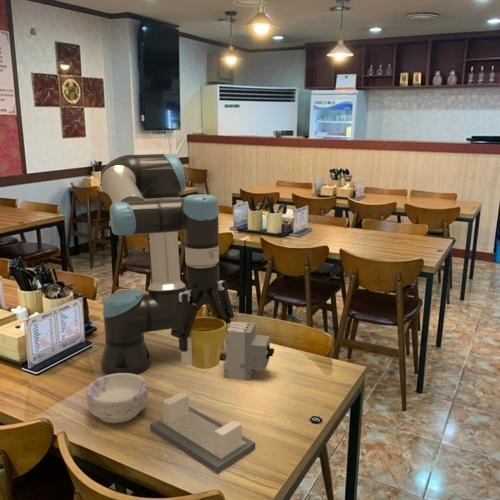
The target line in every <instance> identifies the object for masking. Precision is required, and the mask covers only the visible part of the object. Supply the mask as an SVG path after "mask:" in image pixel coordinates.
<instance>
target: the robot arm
mask: <svg viewBox="0 0 500 500" xmlns="http://www.w3.org/2000/svg"><path fill="white" fill-rule="evenodd" d="M99 178H100V179H99V181H100V185H101V188H102V190H103V192H104V193H105V194H106V195H108V197H109V198H110V200H111V203H112V204H111V205H110V207H109V219H110V222H109V223H110V227H111V233H112V234H113V235H116V236H135V235H147V234H149V249H150V264H151V265H150V266H151V277H152V278H151V279H152V282H151V284H150V285H148V287H147V293H145V294H143V293H142V291H141V290H139V289H125V290H124V289H123V290H119V291H116V292H114V293H111V294H110V295H108V296H107V297H105V299H104V300H103V305H102V306H103V307H102V308H103V309H102V310H103V312H102V316H103V323H104V341H105V345H104V349H103V353H102V356H101V359H100V360H101V361H100V367H101V371H102V372H103V373H104V374H106V375H110V374H116V373H130V374H135V375H138V374H141V373H144V371H146V370H148V369H149V368H150V367H151V365H152V358H151V357H152V356H151V353H150V351H149V348H148V347H147V344H146V341H145V333H150V332H151V333H152V332H158V331H159V332H160V331H165V330H171V331H170V336H172V337H174V338H177V339H178V349H179V351H180V352H181V353H180V354H181V363H183V364H185V365H187V366H192V343H191V337H189V333H190V331H191V328H192V325H193V323H194V320H195V318H196V317H197V315H198V312H199V311H200V310H201V309H202V306H205V305H207V304H209V306H210V307H211V309H212V311H213V312H214V315H215V318H219V319H222V320H224V321H225V322H226V325H228V324H230V322H232V319H233V318H234V317H235V314H234V310H233V306H232V303H231V299H230V298H231V297H230V295H229V292H228V290H229V289H228V288H229V287H228V285H229V283H228V282H227V281H225V280H221V279H220V265H219V264H218V263H219V262H220V253H219V252H220V251H219V250H220V247H219V246H220V245H219V243H220V242H219V241H220V240H219V238H220V236H219V235H220V233H219V232H220V231H219V230H220V229H219V226H220V225H219V214H220V210H219V202H218V197H216V195H213V194H205V193H204V194H201V193H200V194H197V193H195V194H189V195H187V196H185V197H181V193H183V192H184V191H185V190H186V177H185V170H184V167H183V164H182V162H181V160H180V158H179V157H178V156H177V155H175V154H169V153H167V154H166V153H156V154H155V153H154V154H150V153H149V154H125V155H120V156H118V157H116V158H114V159H113V160H110V161H109V162H108V163H107V164H106V165H105V166H104V167H103V169H102V171H101V173H100V177H99ZM179 232H184V251H185V253H184V254H185V255H184V257H185V264H186V266H185V281H186V282H187V285H188V286H187V287H186V284H185V283H184V282H183V281H182V280H181V271H180V253H179V239H178V237H179V236H178V233H179ZM186 288H187V289H186ZM226 335H227V334H226ZM222 350H226V339H225V340H223V345H222Z"/></svg>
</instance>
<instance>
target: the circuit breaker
mask: <svg viewBox="0 0 500 500" xmlns="http://www.w3.org/2000/svg"><path fill="white" fill-rule="evenodd" d="M270 344H271V338H270V335H261V334H256V322H245V321H231V322H230V324H228V323H227V335H226V360H225V361H223V365H222V366H223V367H222V368H223V378H224V379H225V378H227V379H231V380H232V379H234V380H243V381H251V380H252V378H253V375H254V373H255V371H256V370H263V371H265V370H267V368H268V367H267V366H268V364H269V362H270V360H271V359H270V357H273V355H274V354H275V353H274V352H275V348H274V347H273V348H271V345H270Z"/></svg>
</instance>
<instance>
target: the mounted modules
mask: <svg viewBox="0 0 500 500" xmlns="http://www.w3.org/2000/svg"><path fill="white" fill-rule="evenodd" d="M162 413H163V414H162V415H163V417H162V418H164V420H165V421H167V422H168V423H172V422H174V421H175V420H177V419H179V418H181V417H183V416H185V415H187V414H189V395H187V394H186V393H184V392H179V393H177V394H175V395H173V396H171V397H168V398H167V399H164V400H162ZM223 425H224V426H222V427H221V428H219V429H217V430H216V431H215V451H216V452H218V453H219V454H221V455H225V454H226V453H228V452H229V451H231V450H233V449H234V448H236V447H237V446H239V445H240V444H242V436H243V433H242V432H243V431H242V429H243V426H242V425H243V424H242V423H241V422H238V421H236V420H235V419H234V420H231V421H230V422H228V423H226V424H223Z"/></svg>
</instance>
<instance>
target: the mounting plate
mask: <svg viewBox="0 0 500 500" xmlns="http://www.w3.org/2000/svg"><path fill="white" fill-rule="evenodd" d="M189 411H191V412H193V413H194V414H196V415H198V416H200V417H202V418H203V419H205V420H207V421H209V422H210V423H212V424H214V425H216V426H218V427H219V428H221V427H222V426H224V425H225V424H222V423H220V422H218V421H216V420H214V419H213V418H211V417H209V416H208V415H207V414H206V415H205V414H204V413H202V412H201V411H199V410H197V409H195V408H194V407H192V406H189ZM161 419H163V417H162V418H159V419H158V420H156V421H153V422H152V423H150V424H149V430H150V431H151V432H153V433H155V434H156V435H158V436H159V437H161V438H162V439H164V440H165V441H167V442H169V443H170V444H172V445H173V446H175V447H176V448H178V449H179V450H180V451H182V452H184V453H186V454H187V455H189V456H190V457H192V458H193V459H195V460H196V461H197V462H199V463H201V464H202V465H204V466H206V467H207V468H208V469H210V470H211V471H213V472H215V473H216V474H220V473H221V472H222V471H223V470H225V469H227V468H229V467H230V466H231V465H233V464H234V463H236V462H238V461H239V460H240V459H242V458H244V457H245V456H247V455H248V454H249V453H251V452H253V451H255V450H256V442H254V441H253V440H251V439H249V438H247V437H246V436H243V435H242V441H244V442H246V445H245V446H244V447H242V448H241V449H239V450H238V451H236V452H235V453H233V454H232V455H230V456H228V457H227V458H225V459H224V460H222V461H220V460H219V459H217V458H215V457H214V456H212V455H210V454H209V453H207V452H206V451H204V450H202V449H201V448H199V447H198V446H196V445H194V444H193V443H191V442H190V441H188V440H186V439H185V438H183V437H182V436H180V435H178V434H177V433H175V432H174V431H172V430H170V429H169V428H167V427H165V426H164V425H162V424H161V423H159V420H161Z"/></svg>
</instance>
